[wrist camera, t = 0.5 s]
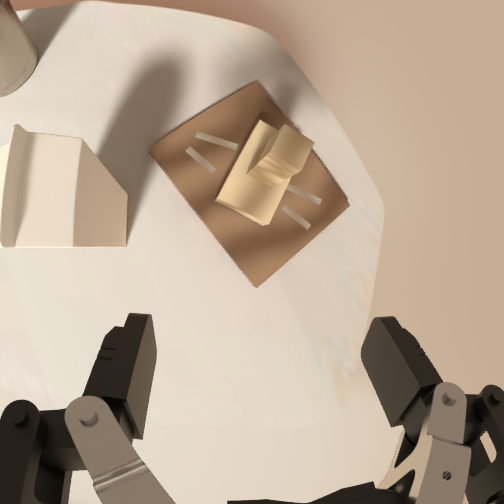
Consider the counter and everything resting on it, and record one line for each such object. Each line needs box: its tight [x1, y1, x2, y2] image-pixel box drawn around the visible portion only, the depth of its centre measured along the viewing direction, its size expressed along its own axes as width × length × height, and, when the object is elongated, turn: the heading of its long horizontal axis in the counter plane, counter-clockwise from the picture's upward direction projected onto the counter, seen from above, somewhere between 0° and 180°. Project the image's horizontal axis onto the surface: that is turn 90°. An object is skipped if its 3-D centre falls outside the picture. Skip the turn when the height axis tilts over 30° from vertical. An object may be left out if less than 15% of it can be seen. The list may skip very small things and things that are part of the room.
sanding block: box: [214, 120, 314, 226], centre depth 29 cm, size 6×10×11 cm, turn 153°
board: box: [149, 82, 350, 288], centre depth 35 cm, size 20×16×1 cm
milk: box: [0, 124, 128, 248], centre depth 21 cm, size 6×6×22 cm
